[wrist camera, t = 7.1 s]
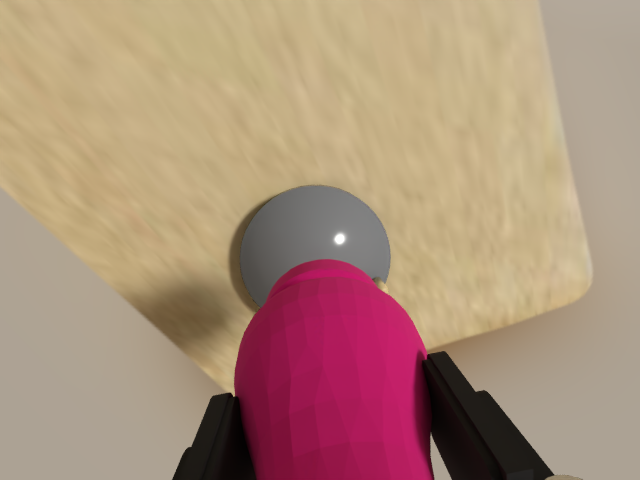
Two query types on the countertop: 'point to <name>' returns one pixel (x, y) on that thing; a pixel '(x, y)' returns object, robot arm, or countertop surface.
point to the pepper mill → (333, 381)
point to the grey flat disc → (312, 237)
